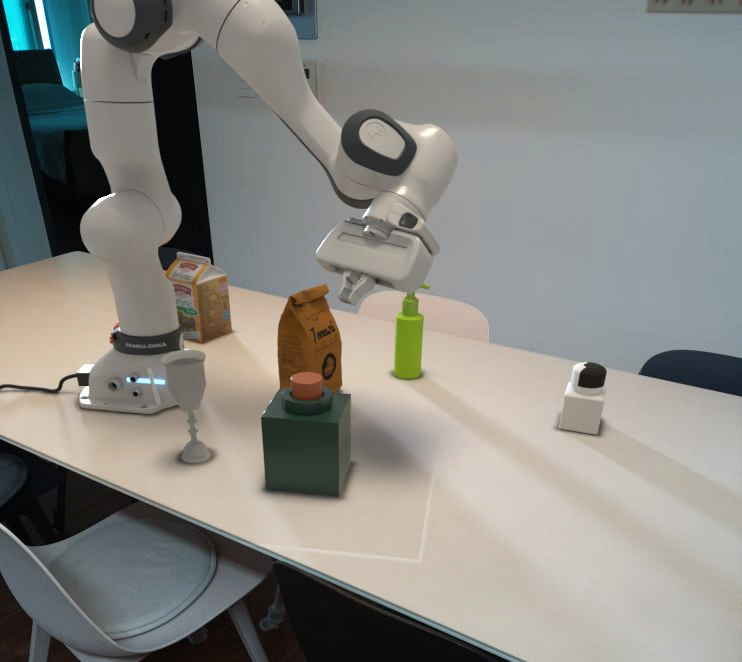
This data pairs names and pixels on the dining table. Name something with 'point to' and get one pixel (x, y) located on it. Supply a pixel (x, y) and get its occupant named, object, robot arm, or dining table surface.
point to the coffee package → (309, 339)
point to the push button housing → (307, 442)
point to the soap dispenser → (409, 338)
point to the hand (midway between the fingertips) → (345, 301)
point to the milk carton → (200, 297)
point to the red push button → (306, 386)
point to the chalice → (188, 394)
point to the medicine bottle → (584, 398)
